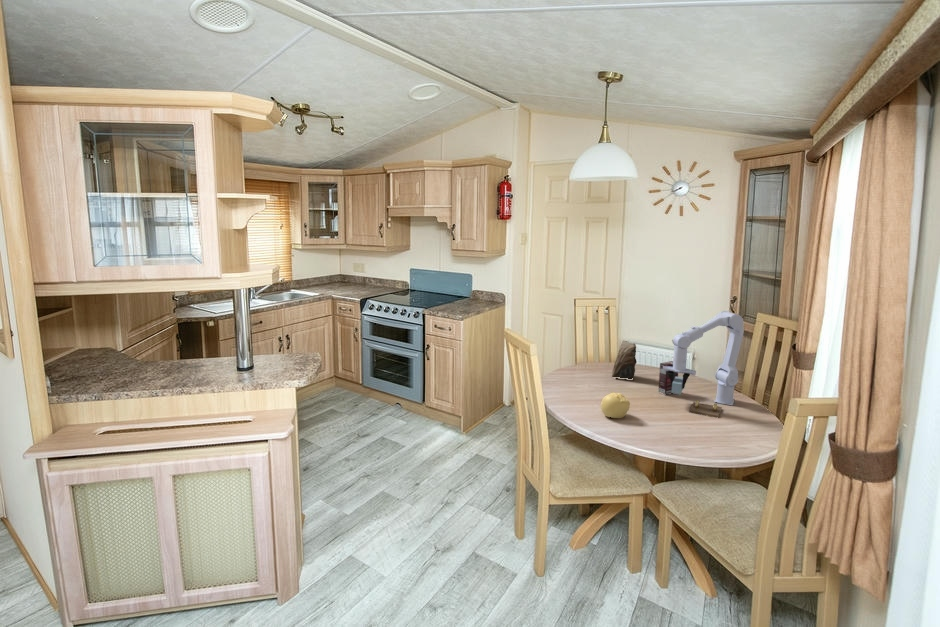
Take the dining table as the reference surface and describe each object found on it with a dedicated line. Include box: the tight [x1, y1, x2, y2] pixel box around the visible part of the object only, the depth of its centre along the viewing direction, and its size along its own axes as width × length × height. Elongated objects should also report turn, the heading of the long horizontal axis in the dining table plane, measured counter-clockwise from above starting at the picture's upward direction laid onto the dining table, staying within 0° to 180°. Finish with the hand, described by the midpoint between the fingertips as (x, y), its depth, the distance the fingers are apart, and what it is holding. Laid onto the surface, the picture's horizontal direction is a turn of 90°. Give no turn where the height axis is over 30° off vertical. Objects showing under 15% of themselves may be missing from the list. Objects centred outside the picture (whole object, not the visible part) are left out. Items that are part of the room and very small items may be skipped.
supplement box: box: [658, 360, 679, 396], centre depth 254 cm, size 9×5×16 cm, turn 115°
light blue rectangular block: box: [671, 376, 684, 395], centre depth 239 cm, size 11×4×5 cm, turn 150°
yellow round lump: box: [600, 392, 631, 419], centre depth 226 cm, size 12×12×11 cm
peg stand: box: [689, 400, 723, 418], centre depth 232 cm, size 12×12×4 cm
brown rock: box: [611, 339, 637, 379], centre depth 278 cm, size 13×13×20 cm
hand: (677, 387), depth 239 cm, fingers closed on light blue rectangular block, 4 cm apart
